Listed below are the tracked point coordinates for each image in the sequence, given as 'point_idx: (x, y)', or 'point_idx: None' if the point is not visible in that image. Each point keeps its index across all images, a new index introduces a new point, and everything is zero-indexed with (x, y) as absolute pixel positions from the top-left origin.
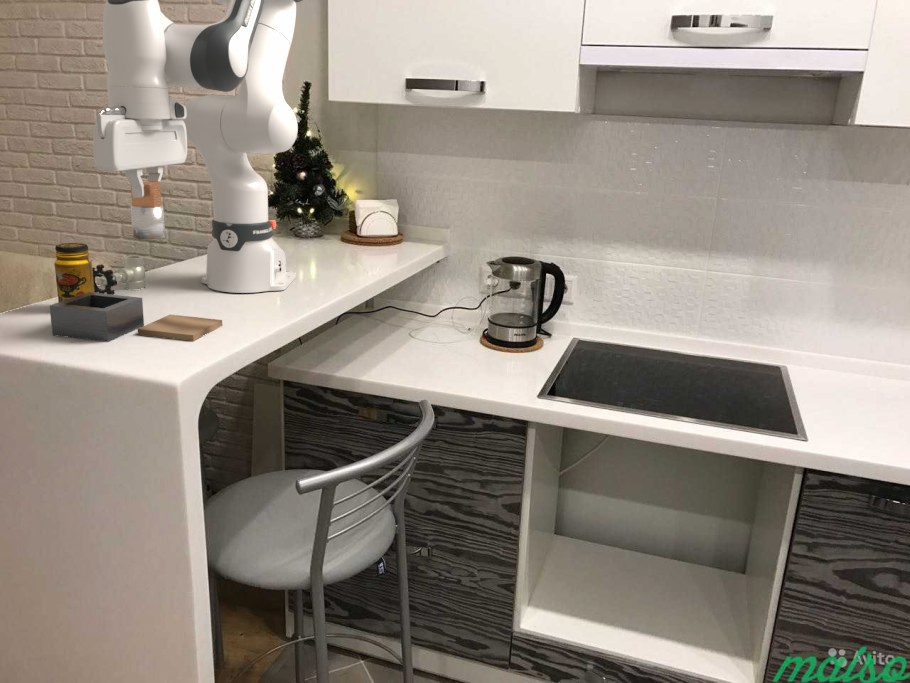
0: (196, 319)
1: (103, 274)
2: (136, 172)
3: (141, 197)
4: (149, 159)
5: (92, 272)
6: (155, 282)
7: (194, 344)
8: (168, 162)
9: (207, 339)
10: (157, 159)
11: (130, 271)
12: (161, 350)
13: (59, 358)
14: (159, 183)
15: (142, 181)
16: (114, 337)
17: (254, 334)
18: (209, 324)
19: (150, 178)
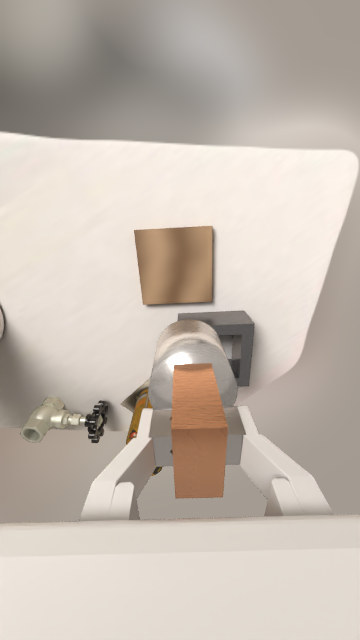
0: (147, 263)
1: (97, 424)
2: (324, 500)
3: (243, 406)
4: (274, 588)
5: (137, 419)
6: (21, 402)
7: (222, 217)
8: (33, 540)
9: (198, 213)
10: (168, 580)
11: (53, 418)
12: (256, 240)
13: (305, 317)
14: (176, 421)
15: (215, 466)
16: (233, 311)
17: (151, 162)
18: (160, 234)
19: (142, 481)
